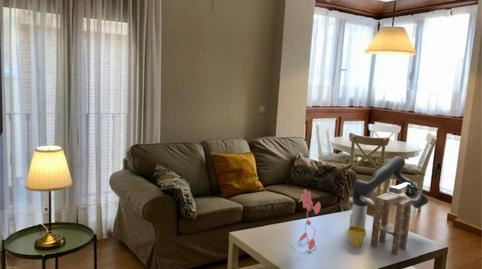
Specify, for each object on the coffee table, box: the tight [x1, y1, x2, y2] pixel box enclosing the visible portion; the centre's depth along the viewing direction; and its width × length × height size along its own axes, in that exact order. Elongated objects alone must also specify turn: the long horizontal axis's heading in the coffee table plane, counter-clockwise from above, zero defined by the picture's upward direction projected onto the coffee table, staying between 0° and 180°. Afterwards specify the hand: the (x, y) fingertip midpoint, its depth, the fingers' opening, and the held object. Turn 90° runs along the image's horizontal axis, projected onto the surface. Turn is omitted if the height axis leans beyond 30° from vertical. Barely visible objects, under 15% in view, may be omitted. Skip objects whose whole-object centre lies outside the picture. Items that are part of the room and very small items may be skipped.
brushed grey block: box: [388, 183, 411, 195], centre depth 236 cm, size 20×6×3 cm, turn 135°
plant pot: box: [347, 226, 367, 247], centre depth 237 cm, size 10×10×10 cm
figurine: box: [298, 189, 322, 255], centre depth 228 cm, size 15×26×35 cm, turn 17°
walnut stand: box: [369, 192, 413, 256], centre depth 233 cm, size 16×14×31 cm
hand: (404, 184), depth 239 cm, fingers closed on brushed grey block, 3 cm apart
